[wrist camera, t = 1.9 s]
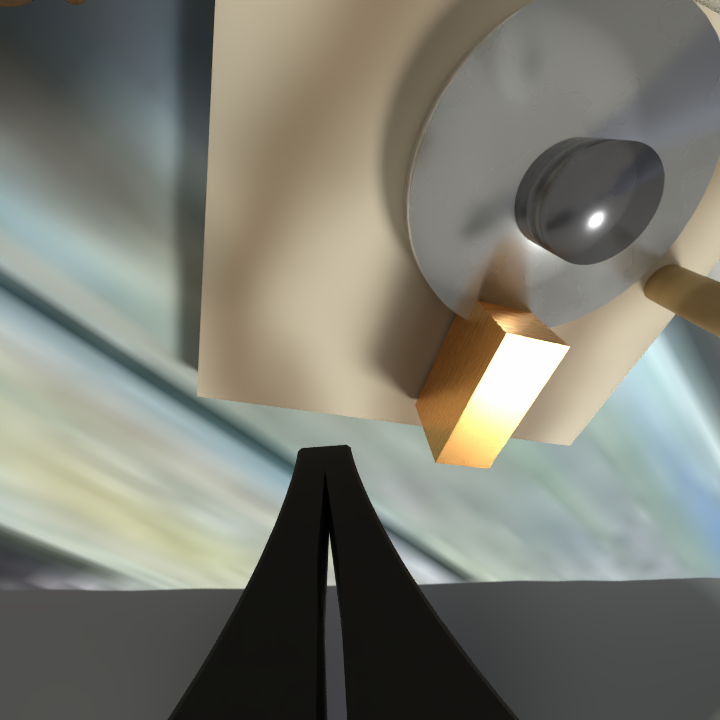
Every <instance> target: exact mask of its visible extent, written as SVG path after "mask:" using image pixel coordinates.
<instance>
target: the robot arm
mask: <svg viewBox="0 0 720 720" xmlns="http://www.w3.org/2000/svg"><path fill="white" fill-rule="evenodd" d="M329 534H330V541H331V549H332V557H333V564H334V572H335V579H336V587H337V595H338V602H339V609H340V617H341V626H342V637H343V652H344V671H345V688H346V704H347V705H346V706H347V720H519V719H518V718H517V716H516V715H515V714H514V713H513V712H512V710H511V709H510V708H509V707H508V706H507V704H506V703H505V702H504V701H503V700H502V698H501V697H500V696H499V695H498V694H497V692H496V691H495V690H494V689H493V687H492V686H491V685H490V683H489V682H488V681H487V680H486V678H485V677H484V676H483V675H482V673H481V672H480V671H479V670H478V668H477V667H476V666H475V665H474V664H473V662H472V661H471V659H470V658H469V657H468V655H467V654H466V653H465V651H464V650H463V649H462V647H461V646H460V645H459V643H458V642H457V640H456V639H455V638H454V636H453V635H452V634H451V633H450V631H449V630H448V629H447V627H446V626H445V624H444V623H443V622H442V620H441V619H440V617H439V616H438V615H437V613H436V612H435V610H434V609H433V607H432V606H431V605H430V603H429V602H428V600H427V599H426V597H425V596H424V594H423V593H422V591H421V590H420V588H419V587H418V585H417V583H416V582H415V580H414V579H413V577H412V576H411V574H410V573H409V571H408V569H407V568H406V566H405V564H404V563H403V561H402V560H401V558H400V556H399V554H398V553H397V551H396V549H395V548H394V546H393V544H392V542H391V540H390V539H389V537H388V535H387V533H386V531H385V530H384V528H383V526H382V524H381V522H380V520H379V518H378V516H377V514H376V512H375V510H374V508H373V506H372V504H371V502H370V500H369V498H368V495H367V493H366V491H365V489H364V486H363V484H362V481H361V479H360V476H359V474H358V471H357V468H356V466H355V463H354V459H353V456H352V452H351V448H350V447H349V446H348V445H337V446H324V447H311V448H302V449H300V450H299V451H298V455H297V460H296V464H295V469H294V472H293V476H292V479H291V482H290V485H289V488H288V491H287V494H286V497H285V500H284V502H283V505H282V508H281V510H280V513H279V516H278V518H277V521H276V523H275V526H274V528H273V530H272V533H271V535H270V537H269V539H268V542H267V544H266V546H265V548H264V551H263V553H262V555H261V557H260V560H259V562H258V564H257V566H256V568H255V570H254V572H253V574H252V576H251V578H250V580H249V582H248V584H247V586H246V588H245V590H244V592H243V594H242V596H241V598H240V600H239V602H238V603H237V605H236V607H235V609H234V611H233V613H232V614H231V616H230V618H229V620H228V621H227V623H226V625H225V627H224V629H223V631H222V632H221V634H220V636H219V637H218V639H217V641H216V643H215V644H214V646H213V648H212V650H211V651H210V653H209V655H208V656H207V658H206V660H205V661H204V663H203V665H202V666H201V668H200V670H199V672H198V673H197V675H196V676H195V678H194V679H193V681H192V682H191V684H190V686H189V687H188V689H187V690H186V692H185V694H184V695H183V697H182V698H181V700H180V701H179V703H178V705H177V706H176V708H175V709H174V711H173V712H172V714H171V715H170V717H169V719H168V720H327V687H326V656H325V616H326V593H327V570H328V546H329Z"/></svg>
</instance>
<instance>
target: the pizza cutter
mask: <svg viewBox="0 0 720 720" xmlns="http://www.w3.org/2000/svg"><path fill="white" fill-rule="evenodd" d="M719 155H720V40H719V37H718V35H717V33H716V31H715V29H714V27H713V26H712V24H711V22H710V20H709V19H708V17H707V15H706V14H705V13H704V12H703V11H702V10H701V9H700V7H699V6H698V5H697V4H696V3H695V2H694V1H693V0H534V1H533V2H531V3H529V4H527V5H525V6H524V7H522V8H520V9H519V10H517V11H515V12H514V13H512V14H510V15H509V16H507V17H505V18H504V19H503V20H502V21H500V22H499V23H498V24H497V25H495V26H494V27H493V28H491V29H490V30H489V31H488V32H486V33H485V34H484V35H483V36H482V37H481V38H480V39H479V40H478V41H477V42H476V43H475V44H474V45H473V46H472V47H471V48H470V49H469V50H468V51H467V52H466V53H465V54H464V55H463V56H462V58H461V59H460V60H459V61H458V63H457V64H456V65H455V66H454V68H453V69H452V70H451V72H450V73H449V74H448V75H447V77H446V78H445V80H444V81H443V83H442V85H441V86H440V88H439V89H438V91H437V93H436V94H435V96H434V97H433V99H432V101H431V103H430V105H429V107H428V109H427V111H426V113H425V115H424V117H423V119H422V121H421V124H420V126H419V129H418V132H417V135H416V137H415V140H414V143H413V146H412V150H411V154H410V158H409V162H408V166H407V170H406V178H405V186H404V220H405V229H406V234H407V238H408V242H409V246H410V250H411V252H412V255H413V257H414V260H415V262H416V265H417V267H418V268H419V270H420V272H421V273H422V275H423V277H424V279H425V280H426V281H427V283H428V284H429V286H430V287H431V289H432V290H433V291H434V292H435V294H436V295H437V296H438V297H439V299H440V300H441V301H442V302H443V303H444V304H445V305H446V306H448V307H449V308H450V309H451V310H452V311H453V312H455V313H456V316H455V318H454V320H453V322H452V325H451V327H450V329H449V331H448V333H447V336H446V338H445V340H444V342H443V344H442V347H441V349H440V351H439V353H438V356H437V358H436V360H435V362H434V364H433V367H432V369H431V371H430V373H429V375H428V378H427V380H426V382H425V384H424V386H423V389H422V391H421V393H420V395H419V397H418V400H417V402H416V404H415V406H416V409H417V412H418V415H419V418H420V420H421V423H422V426H423V429H424V432H425V435H426V437H427V440H428V443H429V446H430V449H431V451H432V454H433V457H434V460H435V463H443V464H452V465H461V466H470V467H480V468H489V467H490V465H491V464H492V462H493V461H494V459H495V458H496V456H497V455H498V453H499V452H500V450H501V449H502V448H503V446H504V445H505V443H506V442H507V440H508V439H509V437H510V436H511V434H512V433H513V431H514V430H515V428H516V427H517V425H518V424H519V422H520V421H521V419H522V418H523V416H524V415H525V413H526V412H527V410H528V409H529V407H530V406H531V404H532V403H533V401H534V400H535V398H536V397H537V395H538V394H539V392H540V391H541V389H542V388H543V386H544V385H545V383H546V382H547V380H548V379H549V377H550V376H551V374H552V373H553V371H554V370H555V368H556V367H557V365H558V364H559V362H560V361H561V359H562V358H563V356H564V355H565V353H566V352H567V350H568V349H569V347H570V346H569V345H567V344H566V343H565V342H564V341H563V340H562V339H561V338H560V337H558V336H557V335H556V334H555V333H554V332H553V331H552V330H551V329H550V328H551V327H556V326H559V325H562V324H565V323H568V322H571V321H573V320H576V319H578V318H580V317H583V316H585V315H587V314H589V313H591V312H593V311H595V310H596V309H598V308H600V307H602V306H604V305H605V304H607V303H608V302H610V301H611V300H613V299H614V298H616V297H617V296H619V295H620V294H622V293H623V292H624V291H626V290H627V289H628V288H629V287H631V286H632V285H633V284H634V283H636V282H637V281H638V280H639V279H640V278H641V277H642V276H643V275H644V274H645V273H647V272H648V271H649V270H650V269H651V268H652V267H653V266H654V265H655V264H656V263H657V261H658V260H659V259H660V258H661V257H662V256H663V255H664V254H665V253H666V252H667V250H668V249H669V248H670V247H671V245H672V244H673V243H674V241H675V240H676V239H677V238H678V236H679V235H680V234H681V232H682V231H683V229H684V228H685V226H686V225H687V223H688V222H689V220H690V219H691V217H692V216H693V214H694V212H695V210H696V208H697V207H698V205H699V203H700V201H701V199H702V197H703V196H704V194H705V192H706V189H707V187H708V185H709V182H710V180H711V178H712V175H713V173H714V171H715V168H716V164H717V161H718V158H719Z"/></svg>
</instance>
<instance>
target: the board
mask: <svg viewBox="0 0 720 720" xmlns="http://www.w3.org/2000/svg"><path fill="white" fill-rule="evenodd" d="M533 1H534V0H215V17H214V39H213V61H212V82H211V104H210V125H209V147H208V169H207V190H206V212H205V234H204V255H203V277H202V299H201V320H200V342H199V364H198V385H197V396H199V397H207V398H214V399H222V400H229V401H237V402H245V403H252V404H260V405H267V406H275V407H282V408H290V409H297V410H305V411H312V412H320V413H327V414H335V415H342V416H350V417H358V418H365V419H373V420H380V421H388V422H395V423H403V424H410V425H418V426H422V423H421V420H420V418H419V415H418V412H417V409H416V406H415V404H416V402H417V400H418V397H419V395H420V393H421V391H422V389H423V386H424V384H425V382H426V380H427V378H428V375H429V373H430V371H431V369H432V367H433V364H434V362H435V360H436V358H437V356H438V353H439V351H440V349H441V347H442V344H443V342H444V340H445V338H446V336H447V333H448V331H449V329H450V327H451V325H452V322H453V320H454V318H455V316H456V313H455V312H453V311H452V310H451V309H450V308H449V307H448V306H446V305H445V304H444V303H443V302H442V301H441V300H440V299H439V297H438V296H437V295H436V294H435V292H434V291H433V290H432V289H431V287H430V286H429V284H428V283H427V281H426V280H425V279H424V277H423V275H422V273H421V272H420V270H419V268H418V267H417V265H416V262H415V260H414V257H413V255H412V252H411V250H410V246H409V242H408V238H407V234H406V229H405V220H404V186H405V178H406V170H407V166H408V162H409V158H410V154H411V150H412V146H413V143H414V140H415V137H416V135H417V132H418V129H419V126H420V124H421V121H422V119H423V117H424V115H425V113H426V111H427V109H428V107H429V105H430V103H431V101H432V99H433V97H434V96H435V94H436V93H437V91H438V89H439V88H440V86H441V85H442V83H443V81H444V80H445V78H446V77H447V75H448V74H449V73H450V72H451V70H452V69H453V68H454V66H455V65H456V64H457V63H458V61H459V60H460V59H461V58H462V56H463V55H464V54H465V53H466V52H467V51H468V50H469V49H470V48H471V47H472V46H473V45H474V44H475V43H476V42H477V41H478V40H479V39H480V38H481V37H482V36H483V35H484V34H485V33H486V32H488V31H489V30H490V29H491V28H493V27H494V26H495V25H497V24H498V23H499V22H500V21H502V20H503V19H504V18H505V17H507V16H509V15H510V14H512V13H514V12H515V11H517V10H519V9H520V8H522V7H524V6H525V5H527V4H529V3H531V2H533ZM693 1H694V0H693ZM694 2H695V3H696V4H697V5H698V6H699V7H700V9H701V10H702V11H703V12H704V13H705V14H706V15H707V17H708V19H709V20H710V22H711V24H712V26H713V27H714V29H715V31H716V33H717V35H718V37H719V40H720V14H718V13H716V12H714V11H713V10H711V9H709V8H707V7H705V6H703V5H701V4H699V3H698V2H696V1H694ZM719 259H720V155H719V158H718V161H717V164H716V168H715V171H714V173H713V175H712V178H711V180H710V182H709V185H708V187H707V189H706V192H705V194H704V196H703V197H702V199H701V201H700V203H699V205H698V207H697V208H696V210H695V212H694V214H693V216H692V217H691V219H690V220H689V222H688V223H687V225H686V226H685V228H684V229H683V231H682V232H681V234H680V235H679V236H678V238H677V239H676V240H675V241H674V243H673V244H672V245H671V247H670V248H669V249H668V250H667V252H666V253H665V254H664V255H663V256H662V257H661V258H660V259H659V260H658V261H657V263H656V264H655V265H654V266H653V267H652V268H651V269H650V270H649V271H648V272H647V273H645V274H644V275H643V276H642V277H641V278H640V279H639V280H638V281H637V282H636V283H634V284H633V285H632V286H631V287H629V288H628V289H627V290H626V291H624V292H623V293H622V294H620V295H619V296H617V297H616V298H614V299H613V300H611V301H610V302H608V303H607V304H605V305H604V306H602V307H600V308H598V309H596V310H595V311H593V312H591V313H589V314H587V315H585V316H583V317H580V318H578V319H576V320H573V321H571V322H568V323H565V324H562V325H559V326H556V327H551V328H550V329H551V330H552V331H553V332H554V333H555V334H556V335H557V336H558V337H560V338H561V339H562V340H563V341H564V342H565V343H566V344H567V345H569V346H570V347H569V349H568V350H567V352H566V353H565V355H564V356H563V358H562V359H561V361H560V362H559V364H558V365H557V367H556V368H555V370H554V371H553V373H552V374H551V376H550V377H549V379H548V380H547V382H546V383H545V385H544V386H543V388H542V389H541V391H540V392H539V394H538V395H537V397H536V398H535V400H534V401H533V403H532V404H531V406H530V407H529V409H528V410H527V412H526V413H525V415H524V416H523V418H522V419H521V421H520V422H519V424H518V425H517V427H516V428H515V430H514V431H513V433H512V434H511V436H510V437H509V438H516V439H523V440H531V441H538V442H546V443H553V444H561V445H568V446H570V445H571V444H572V442H573V441H574V440H575V439H576V437H577V436H578V435H579V434H580V433H581V431H582V430H583V429H584V428H585V426H586V425H587V424H588V423H589V421H590V420H591V419H592V418H593V416H594V415H595V414H596V413H597V411H598V410H599V409H600V408H601V406H602V405H603V404H604V403H605V401H606V400H607V399H608V398H609V396H610V395H611V394H612V393H613V391H614V390H615V389H616V388H617V386H618V385H619V384H620V383H621V381H622V380H623V379H624V378H625V376H626V375H627V374H628V373H629V371H630V370H631V369H632V368H633V367H634V365H635V364H636V363H637V362H638V360H639V359H640V358H641V357H642V355H643V354H644V353H645V352H646V350H647V349H648V348H649V347H650V345H651V344H652V343H653V342H654V340H655V339H656V338H657V337H658V335H659V334H660V333H661V332H662V330H663V329H664V328H665V327H666V325H667V324H668V323H669V322H670V320H671V319H672V318H673V317H674V315H675V314H677V315H679V316H681V317H683V318H684V319H686V320H688V321H690V322H692V323H694V324H696V325H697V326H699V327H701V328H703V329H705V330H707V331H709V332H710V333H712V334H714V335H716V336H718V337H720V282H718V281H715V280H713V279H710V278H708V277H706V276H707V274H708V273H709V272H710V271H711V269H712V268H713V267H714V266H715V264H716V263H717V262H718V261H719Z"/></svg>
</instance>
